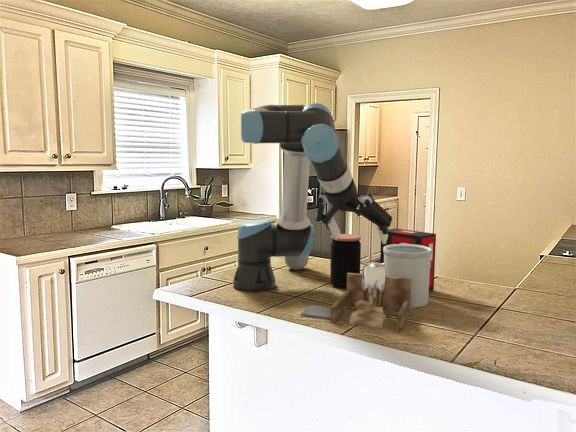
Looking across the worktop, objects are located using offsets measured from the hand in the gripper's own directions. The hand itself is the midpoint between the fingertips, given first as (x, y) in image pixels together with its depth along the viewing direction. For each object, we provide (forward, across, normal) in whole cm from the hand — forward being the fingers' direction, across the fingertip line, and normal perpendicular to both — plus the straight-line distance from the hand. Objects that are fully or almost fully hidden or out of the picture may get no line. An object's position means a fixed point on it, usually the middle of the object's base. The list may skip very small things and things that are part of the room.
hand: (361, 237), depth 126 cm
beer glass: (+25, 0, -9) cm, 27 cm away
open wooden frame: (+24, 0, -11) cm, 26 cm away
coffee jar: (+43, -21, +9) cm, 49 cm away
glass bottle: (+52, -49, +18) cm, 73 cm away
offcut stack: (+20, +1, -14) cm, 25 cm away
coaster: (+20, -14, -14) cm, 29 cm away
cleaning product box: (+49, -1, +15) cm, 52 cm away
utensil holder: (+38, +4, +3) cm, 38 cm away
